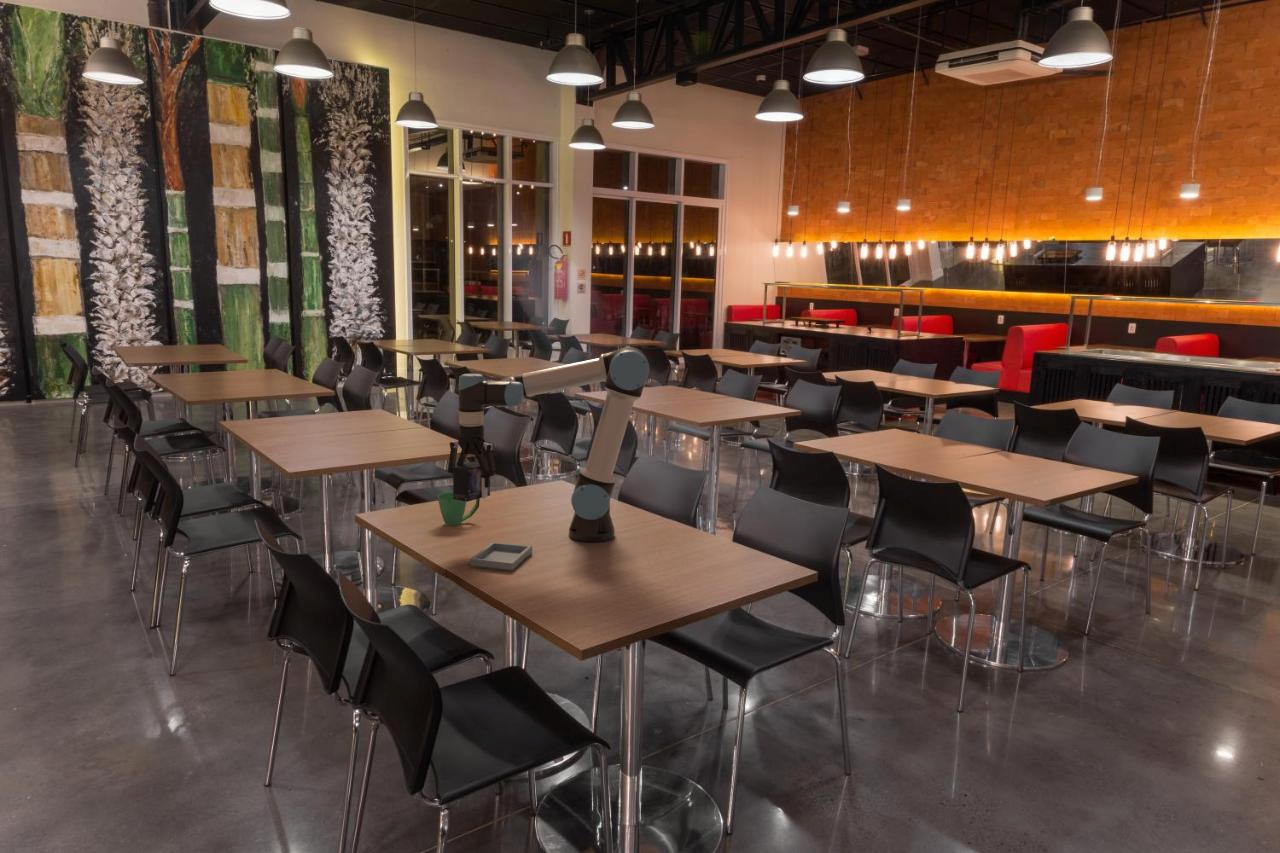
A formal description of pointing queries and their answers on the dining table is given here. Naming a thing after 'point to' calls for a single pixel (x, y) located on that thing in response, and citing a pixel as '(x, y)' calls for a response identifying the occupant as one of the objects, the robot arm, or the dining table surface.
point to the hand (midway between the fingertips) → (472, 496)
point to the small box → (468, 482)
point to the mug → (454, 509)
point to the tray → (501, 556)
